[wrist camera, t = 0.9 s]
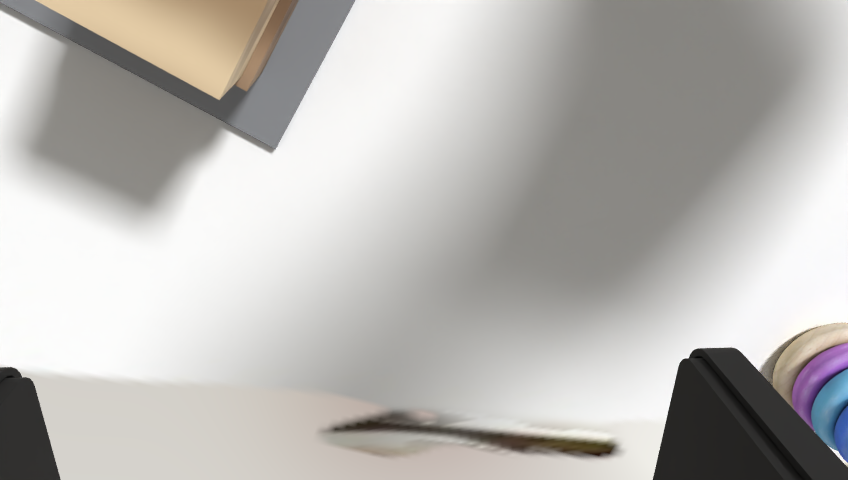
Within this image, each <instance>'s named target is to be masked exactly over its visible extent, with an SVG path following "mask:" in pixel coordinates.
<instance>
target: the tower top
mask: <svg viewBox="0 0 848 480" xmlns="http://www.w3.org/2000/svg"><path fill="white" fill-rule="evenodd" d="M35 1H37V2H39V3H41V4H43V5H45V6H47V7H48V8H50V9H52V10H54V11H56V12H58V13H59V14H61V15H63V16H65V17H67V18H69V19H71V20H72V21H74V22H76V23H78V24H80V25H82V26H83V27H85V28H87V29H89V30H91V31H93V32H95V33H96V34H98V35H100V36H102V37H104V38H106V39H107V40H109V41H111V42H113V43H115V44H117V45H118V46H120V47H122V48H124V49H126V50H128V51H130V52H131V53H133V54H135V55H137V56H139V57H141V58H142V59H144V60H146V61H148V62H150V63H152V64H154V65H155V66H157V67H159V68H161V69H163V70H165V71H166V72H168V73H170V74H172V75H174V76H176V77H178V78H179V79H181V80H183V81H185V82H187V83H189V84H190V85H192V86H194V87H196V88H198V89H200V90H202V91H203V92H205V93H207V94H209V95H211V96H213V97H214V98H216V99H218V100H220V99H221V98H222V97H223V96H224V95H225V94H226V92H227V91H228V90H229V89H230V88H231V87H232V86H233V85H234V84H235V83H236V82H237V81H238V80H239V79H240V78H241V77H242V75H243V73H244V71H245V68H246V66H247V64H248V62H249V60H250V58H251V56H252V54H253V52H254V50H255V48H256V46H257V44H258V42H259V40H260V38H261V36H262V34H263V32H264V30H265V28H266V26H267V24H268V22H269V20H270V18H271V16H272V14H273V12H274V10H275V8H276V6H277V4H278V2H279V0H35Z"/></svg>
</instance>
